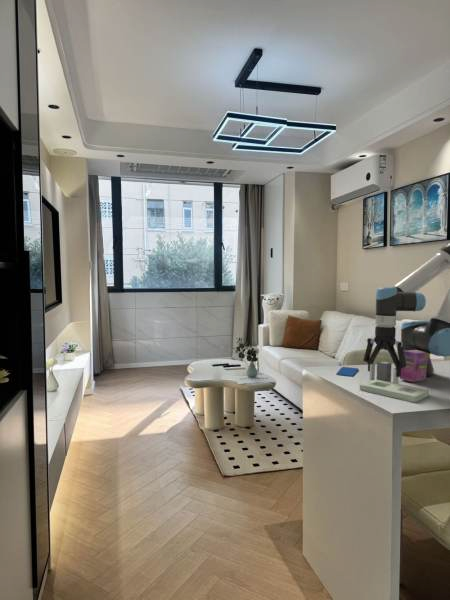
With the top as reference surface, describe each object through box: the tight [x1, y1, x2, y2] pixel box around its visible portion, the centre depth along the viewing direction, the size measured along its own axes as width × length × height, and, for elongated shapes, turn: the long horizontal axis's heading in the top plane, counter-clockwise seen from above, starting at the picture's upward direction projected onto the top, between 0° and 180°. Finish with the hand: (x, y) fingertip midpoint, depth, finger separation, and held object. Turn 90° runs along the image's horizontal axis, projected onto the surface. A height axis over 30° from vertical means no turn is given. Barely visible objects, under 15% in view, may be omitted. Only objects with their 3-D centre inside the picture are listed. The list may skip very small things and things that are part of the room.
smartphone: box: [335, 366, 359, 378], centre depth 174 cm, size 7×1×15 cm
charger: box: [376, 361, 392, 382], centre depth 156 cm, size 4×4×8 cm
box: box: [399, 350, 429, 383], centre depth 160 cm, size 10×6×12 cm, turn 126°
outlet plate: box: [359, 378, 430, 403], centre depth 142 cm, size 12×20×2 cm, turn 42°
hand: (383, 382), depth 156 cm, fingers open, 9 cm apart
